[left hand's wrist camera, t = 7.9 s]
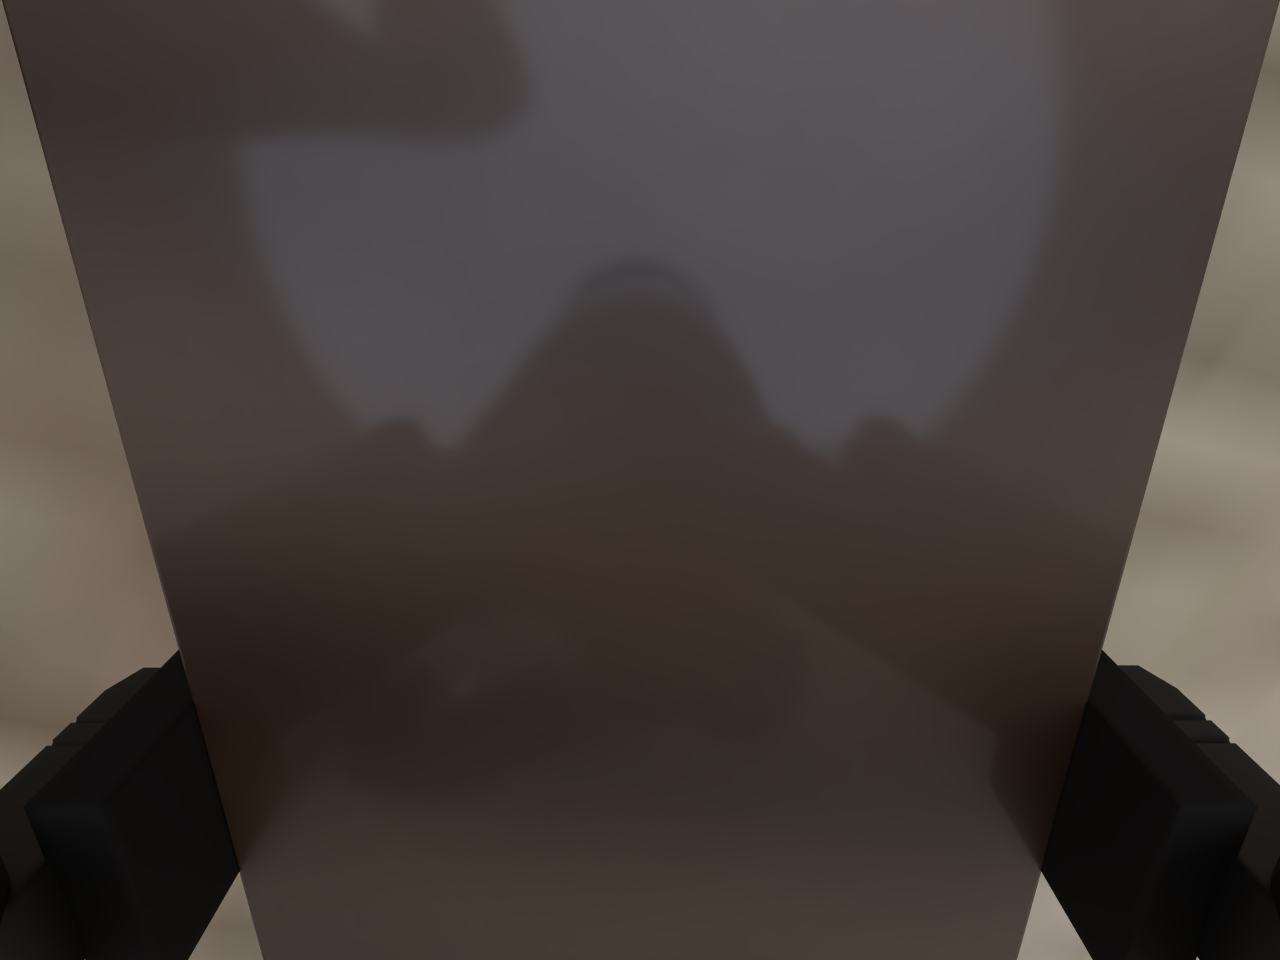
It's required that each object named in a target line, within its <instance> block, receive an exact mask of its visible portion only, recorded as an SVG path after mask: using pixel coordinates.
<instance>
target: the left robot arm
mask: <svg viewBox="0 0 1280 960" xmlns="http://www.w3.org/2000/svg"><path fill="white" fill-rule="evenodd" d="M1041 872H1042V873H1043V875H1044V877H1045V879H1046V880H1047V882H1048V884H1049V885H1050V887H1051V889H1052V891H1053V892H1054V894H1055V896H1056V897H1057V899H1058V901H1059V903H1060V904H1061V906H1062V908H1063V909H1064V911H1065V913H1066V915H1067V916H1068V918H1069V920H1070V921H1071V923H1072V925H1073V927H1074V928H1075V930H1076V932H1077V933H1078V935H1079V937H1080V939H1081V940H1082V942H1083V944H1084V945H1085V947H1086V949H1087V951H1088V952H1089V954H1090V956H1091V957H1092V959H1093V960H1196V958H1197V957H1198V958H1199V960H1280V785H1279V784H1278V783H1277V782H1276V781H1275V780H1274V779H1273V778H1272V777H1270V776H1269V775H1268V774H1267V773H1266V772H1265V771H1264V770H1263V769H1262V768H1261V767H1260V766H1259V765H1258V764H1257V763H1256V762H1255V761H1253V760H1252V759H1251V758H1250V757H1249V756H1248V755H1247V754H1246V753H1245V752H1244V751H1243V750H1242V749H1241V748H1240V747H1239V746H1238V745H1236V744H1235V743H1230V742H1229V737H1228V736H1227V735H1226V734H1225V733H1224V732H1223V731H1222V730H1221V729H1219V728H1218V727H1217V726H1216V725H1215V724H1214V723H1213V722H1212V721H1211V720H1206V719H1205V714H1204V713H1202V712H1201V711H1200V710H1199V709H1198V708H1197V707H1196V706H1195V705H1194V704H1193V703H1192V702H1191V701H1190V700H1189V699H1188V698H1187V697H1185V696H1184V695H1183V694H1182V693H1181V692H1180V691H1179V690H1178V689H1177V688H1175V687H1174V686H1172V685H1170V684H1169V683H1167V682H1165V681H1164V680H1162V679H1160V678H1158V677H1157V676H1155V675H1153V674H1152V673H1150V672H1148V671H1147V670H1145V669H1143V668H1141V667H1140V666H1129V665H1117V664H1116V663H1115V662H1114V661H1113V660H1112V659H1111V658H1110V657H1109V656H1108V655H1107V654H1106V653H1105V652H1104V651H1103V650H1102V651H1101V654H1100V658H1099V662H1098V665H1097V669H1096V673H1095V676H1094V680H1093V684H1092V687H1091V691H1090V695H1089V698H1088V702H1087V705H1086V709H1085V713H1084V716H1083V720H1082V724H1081V727H1080V731H1079V735H1078V738H1077V742H1076V746H1075V749H1074V753H1073V757H1072V760H1071V764H1070V768H1069V771H1068V775H1067V779H1066V782H1065V786H1064V790H1063V793H1062V797H1061V801H1060V804H1059V808H1058V811H1057V815H1056V819H1055V822H1054V826H1053V830H1052V833H1051V837H1050V841H1049V844H1048V848H1047V852H1046V855H1045V859H1044V863H1043V866H1042V870H1041ZM238 873H239V868H238V864H237V860H236V857H235V853H234V849H233V846H232V842H231V838H230V835H229V831H228V827H227V824H226V820H225V816H224V813H223V809H222V805H221V802H220V798H219V794H218V791H217V787H216V783H215V780H214V776H213V772H212V769H211V765H210V761H209V758H208V754H207V750H206V747H205V743H204V739H203V736H202V732H201V728H200V725H199V721H198V717H197V714H196V710H195V706H194V703H193V699H192V695H191V692H190V688H189V684H188V681H187V677H186V673H185V670H184V666H183V662H182V659H181V655H180V651H179V650H178V651H177V652H176V653H175V654H174V655H173V656H172V657H171V658H170V659H169V660H168V661H167V662H166V663H165V664H164V665H163V666H162V667H161V668H142V669H141V670H139V671H137V672H136V673H134V674H132V675H131V676H129V677H127V678H125V679H124V680H122V681H120V682H119V683H117V684H115V685H114V686H112V687H110V688H109V689H107V690H105V691H104V692H103V693H102V694H101V695H100V696H99V697H98V698H97V699H96V700H95V701H94V702H92V703H91V704H90V705H89V706H88V707H87V708H86V709H85V710H84V711H83V712H82V713H81V714H80V715H79V716H78V717H77V721H76V723H70V724H69V725H68V726H67V727H66V728H65V729H64V730H63V731H62V732H61V733H60V734H59V735H58V736H57V737H56V738H54V739H53V744H52V746H46V747H45V748H44V749H43V750H42V751H41V752H40V753H39V754H38V755H37V756H35V757H34V758H33V759H32V760H31V761H30V762H29V763H28V764H27V765H26V766H25V767H24V768H23V769H22V770H21V771H20V772H19V773H18V774H16V775H15V776H14V777H13V778H12V779H11V780H10V781H9V782H8V783H7V784H6V785H5V786H4V787H3V788H2V789H1V790H0V960H84V959H85V960H188V959H189V957H190V955H191V954H192V952H193V950H194V948H195V947H196V945H197V943H198V942H199V940H200V938H201V936H202V935H203V933H204V931H205V930H206V928H207V926H208V924H209V923H210V921H211V919H212V918H213V916H214V914H215V912H216V911H217V909H218V907H219V906H220V904H221V902H222V900H223V899H224V897H225V895H226V894H227V892H228V890H229V888H230V887H231V885H232V883H233V882H234V880H235V878H236V876H237V875H238Z"/></svg>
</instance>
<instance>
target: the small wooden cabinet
mask: <svg viewBox="0 0 1280 960" xmlns="http://www.w3.org/2000/svg"><path fill="white" fill-rule="evenodd" d="M1279 1H1280V0H2V2H3V5H4V9H5V13H6V16H7V20H8V24H9V27H10V31H11V35H12V39H13V42H14V46H15V50H16V53H17V57H18V61H19V64H20V68H21V72H22V75H23V79H24V83H25V86H26V90H27V94H28V97H29V101H30V105H31V108H32V112H33V116H34V119H35V123H36V127H37V130H38V134H39V138H40V141H41V145H42V149H43V152H44V156H45V160H46V163H47V167H48V171H49V174H50V178H51V182H52V185H53V189H54V193H55V196H56V200H57V204H58V207H59V211H60V215H61V218H62V222H63V226H64V229H65V233H66V237H67V240H68V244H69V248H70V251H71V255H72V259H73V262H74V266H75V270H76V273H77V277H78V281H79V284H80V288H81V292H82V295H83V299H84V303H85V306H86V310H87V314H88V317H89V321H90V325H91V328H92V332H93V336H94V339H95V343H96V347H97V350H98V354H99V358H100V361H101V365H102V369H103V372H104V376H105V380H106V383H107V387H108V391H109V394H110V398H111V402H112V405H113V409H114V413H115V416H116V420H117V424H118V427H119V431H120V435H121V438H122V442H123V446H124V449H125V453H126V457H127V460H128V464H129V468H130V471H131V475H132V479H133V482H134V486H135V490H136V493H137V497H138V501H139V504H140V508H141V512H142V515H143V519H144V523H145V526H146V530H147V534H148V537H149V541H150V545H151V548H152V552H153V556H154V559H155V563H156V567H157V570H158V574H159V578H160V581H161V585H162V589H163V592H164V596H165V600H166V603H167V607H168V611H169V614H170V618H171V622H172V625H173V629H174V633H175V636H176V640H177V644H178V648H179V651H180V655H181V659H182V662H183V666H184V670H185V673H186V677H187V681H188V684H189V688H190V692H191V695H192V699H193V703H194V706H195V710H196V714H197V717H198V721H199V725H200V728H201V732H202V736H203V739H204V743H205V747H206V750H207V754H208V758H209V761H210V765H211V769H212V772H213V776H214V780H215V783H216V787H217V791H218V794H219V798H220V802H221V805H222V809H223V813H224V816H225V820H226V824H227V827H228V831H229V835H230V838H231V842H232V846H233V849H234V853H235V857H236V860H237V864H238V868H239V871H240V875H241V879H242V882H243V886H244V890H245V893H246V897H247V901H248V904H249V908H250V912H251V915H252V919H253V923H254V926H255V930H256V934H257V937H258V941H259V945H260V948H261V952H262V956H263V959H264V960H1017V958H1018V954H1019V950H1020V947H1021V943H1022V939H1023V936H1024V932H1025V928H1026V925H1027V921H1028V917H1029V914H1030V910H1031V906H1032V903H1033V899H1034V895H1035V892H1036V888H1037V885H1038V881H1039V877H1040V874H1041V870H1042V866H1043V863H1044V859H1045V855H1046V852H1047V848H1048V844H1049V841H1050V837H1051V833H1052V830H1053V826H1054V822H1055V819H1056V815H1057V811H1058V808H1059V804H1060V801H1061V797H1062V793H1063V790H1064V786H1065V782H1066V779H1067V775H1068V771H1069V768H1070V764H1071V760H1072V757H1073V753H1074V749H1075V746H1076V742H1077V738H1078V735H1079V731H1080V727H1081V724H1082V720H1083V716H1084V713H1085V709H1086V705H1087V702H1088V698H1089V695H1090V691H1091V687H1092V684H1093V680H1094V676H1095V673H1096V669H1097V665H1098V662H1099V658H1100V654H1101V651H1102V647H1103V643H1104V640H1105V636H1106V633H1107V629H1108V625H1109V622H1110V618H1111V614H1112V611H1113V607H1114V603H1115V600H1116V596H1117V592H1118V589H1119V585H1120V581H1121V578H1122V574H1123V570H1124V567H1125V563H1126V560H1127V556H1128V552H1129V549H1130V545H1131V541H1132V538H1133V534H1134V530H1135V527H1136V523H1137V519H1138V516H1139V512H1140V508H1141V505H1142V501H1143V497H1144V494H1145V490H1146V486H1147V483H1148V479H1149V476H1150V472H1151V468H1152V465H1153V461H1154V457H1155V454H1156V450H1157V446H1158V443H1159V439H1160V435H1161V432H1162V428H1163V424H1164V421H1165V417H1166V413H1167V410H1168V406H1169V402H1170V399H1171V395H1172V392H1173V388H1174V384H1175V381H1176V377H1177V373H1178V370H1179V366H1180V362H1181V359H1182V355H1183V351H1184V348H1185V344H1186V340H1187V337H1188V333H1189V329H1190V326H1191V322H1192V318H1193V315H1194V311H1195V308H1196V304H1197V300H1198V297H1199V293H1200V289H1201V286H1202V282H1203V278H1204V275H1205V271H1206V267H1207V264H1208V260H1209V256H1210V253H1211V249H1212V245H1213V242H1214V238H1215V234H1216V231H1217V227H1218V224H1219V220H1220V216H1221V213H1222V209H1223V205H1224V202H1225V198H1226V194H1227V191H1228V187H1229V183H1230V180H1231V176H1232V172H1233V169H1234V165H1235V161H1236V158H1237V154H1238V150H1239V147H1240V143H1241V140H1242V136H1243V132H1244V129H1245V125H1246V121H1247V118H1248V114H1249V110H1250V107H1251V103H1252V99H1253V96H1254V92H1255V88H1256V85H1257V81H1258V77H1259V74H1260V70H1261V66H1262V63H1263V59H1264V56H1265V52H1266V48H1267V45H1268V41H1269V37H1270V34H1271V30H1272V26H1273V23H1274V19H1275V15H1276V12H1277V8H1278V4H1279Z"/></svg>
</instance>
